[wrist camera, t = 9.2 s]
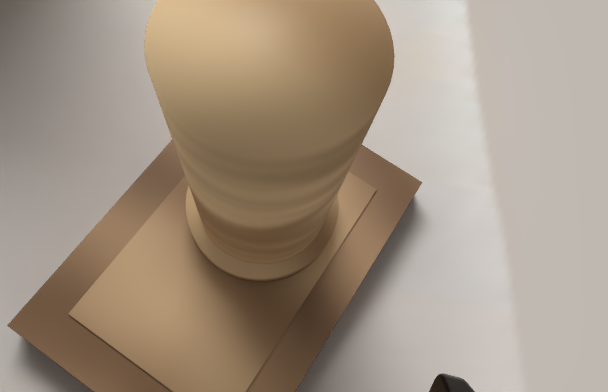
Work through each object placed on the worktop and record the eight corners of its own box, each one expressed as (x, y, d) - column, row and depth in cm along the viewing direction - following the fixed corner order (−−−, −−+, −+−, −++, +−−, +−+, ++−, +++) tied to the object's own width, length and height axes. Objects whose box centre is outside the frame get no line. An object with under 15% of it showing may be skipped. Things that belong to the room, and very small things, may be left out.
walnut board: (232, 487, 17) (231, 496, 15) (22, 328, 18) (6, 325, 17) (413, 192, 21) (422, 181, 20) (238, 81, 23) (237, 65, 21)
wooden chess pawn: (282, 312, 18) (317, 243, 8) (157, 226, 18) (48, 64, 9) (360, 193, 20) (466, 21, 10) (246, 120, 20) (239, -109, 11)
